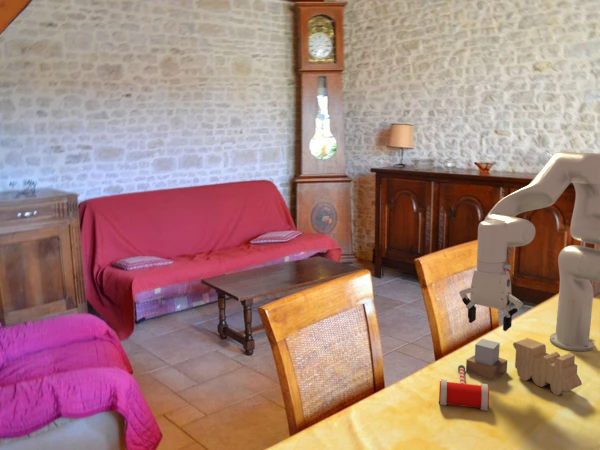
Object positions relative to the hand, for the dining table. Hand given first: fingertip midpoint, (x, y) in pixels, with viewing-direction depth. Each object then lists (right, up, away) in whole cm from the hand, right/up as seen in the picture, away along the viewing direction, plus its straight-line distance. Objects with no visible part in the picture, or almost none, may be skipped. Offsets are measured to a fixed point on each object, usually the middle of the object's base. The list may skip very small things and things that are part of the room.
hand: (488, 325), depth 150 cm
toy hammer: (-10, -17, -8) cm, 21 cm away
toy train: (+14, -15, -4) cm, 21 cm away
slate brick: (0, -10, +2) cm, 11 cm away
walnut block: (0, -14, +3) cm, 15 cm away
